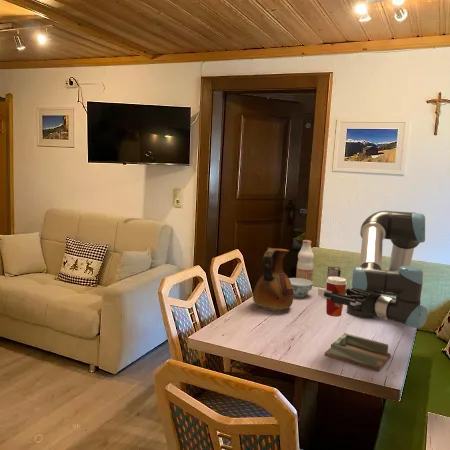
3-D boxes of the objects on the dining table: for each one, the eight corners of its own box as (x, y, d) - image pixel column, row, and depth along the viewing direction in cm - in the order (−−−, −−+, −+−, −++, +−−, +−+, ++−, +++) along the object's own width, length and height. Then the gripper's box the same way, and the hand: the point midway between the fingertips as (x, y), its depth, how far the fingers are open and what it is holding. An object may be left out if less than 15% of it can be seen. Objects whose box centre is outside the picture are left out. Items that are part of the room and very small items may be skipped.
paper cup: (340, 319, 162) (344, 282, 160) (320, 314, 165) (323, 278, 163) (346, 313, 168) (349, 278, 166) (327, 309, 172) (330, 274, 170)
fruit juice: (294, 289, 249) (298, 241, 245) (295, 285, 258) (299, 238, 254) (311, 291, 247) (315, 242, 243) (311, 286, 256) (315, 240, 252)
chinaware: (283, 290, 246) (284, 277, 245) (310, 292, 245) (311, 278, 244) (284, 298, 231) (285, 284, 230) (313, 300, 230) (314, 286, 229)
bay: (339, 341, 177) (340, 331, 176) (390, 356, 166) (391, 344, 165) (324, 355, 164) (325, 343, 163) (378, 371, 152) (379, 359, 152)
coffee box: (338, 300, 232) (340, 270, 230) (326, 299, 234) (328, 269, 231) (337, 295, 241) (339, 267, 239) (325, 294, 243) (327, 265, 240)
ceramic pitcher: (298, 306, 219) (303, 248, 214) (281, 317, 202) (286, 254, 198) (264, 298, 229) (267, 242, 225) (245, 308, 212) (248, 248, 208)
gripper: (363, 321, 146) (308, 303, 163) (392, 310, 160) (339, 294, 177) (365, 300, 145) (309, 284, 162) (394, 290, 159) (340, 276, 176)
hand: (325, 289), depth 169 cm, fingers closed on paper cup, 8 cm apart
